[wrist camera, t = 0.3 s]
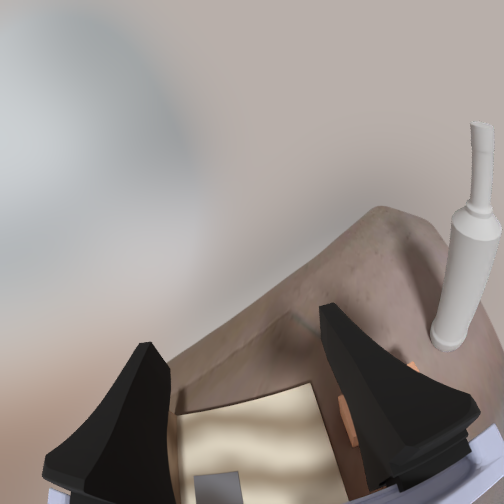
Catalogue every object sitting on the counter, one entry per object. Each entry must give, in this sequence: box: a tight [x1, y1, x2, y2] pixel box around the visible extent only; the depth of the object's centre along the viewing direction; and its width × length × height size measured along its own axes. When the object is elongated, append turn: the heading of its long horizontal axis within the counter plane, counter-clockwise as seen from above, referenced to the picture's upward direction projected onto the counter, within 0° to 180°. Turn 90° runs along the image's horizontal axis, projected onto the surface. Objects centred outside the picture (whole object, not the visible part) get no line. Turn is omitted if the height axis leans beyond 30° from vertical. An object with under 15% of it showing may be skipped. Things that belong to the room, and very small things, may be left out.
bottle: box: [430, 122, 502, 352], centre depth 19 cm, size 5×5×25 cm
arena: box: [167, 383, 349, 504], centre depth 19 cm, size 20×18×5 cm
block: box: [338, 362, 420, 447], centre depth 21 cm, size 8×4×6 cm, turn 99°
